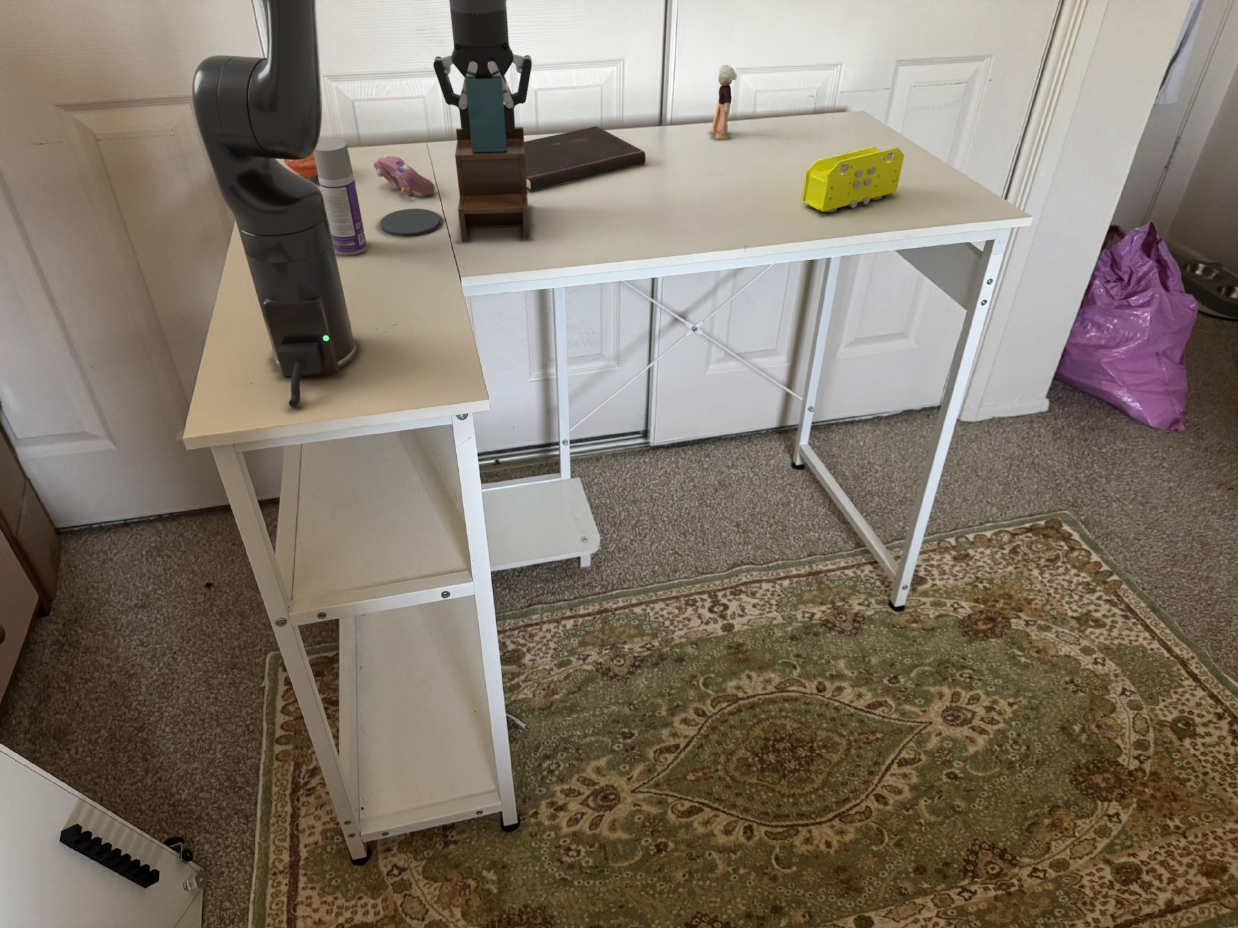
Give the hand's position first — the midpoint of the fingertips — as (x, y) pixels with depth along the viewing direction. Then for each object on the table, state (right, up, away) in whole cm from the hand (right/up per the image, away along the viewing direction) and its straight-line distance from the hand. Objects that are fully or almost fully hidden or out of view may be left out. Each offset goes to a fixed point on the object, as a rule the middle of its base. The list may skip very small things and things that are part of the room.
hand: (489, 132), depth 126 cm
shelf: (0, -11, +7) cm, 13 cm away
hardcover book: (+10, +4, +26) cm, 28 cm away
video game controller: (-16, -4, +16) cm, 23 cm away
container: (-20, -17, 0) cm, 26 cm away
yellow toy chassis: (+56, -6, +14) cm, 59 cm away
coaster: (-13, -11, +6) cm, 18 cm away
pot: (-33, 0, +20) cm, 39 cm away
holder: (0, -1, +1) cm, 2 cm away
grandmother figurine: (+38, +14, +38) cm, 56 cm away
